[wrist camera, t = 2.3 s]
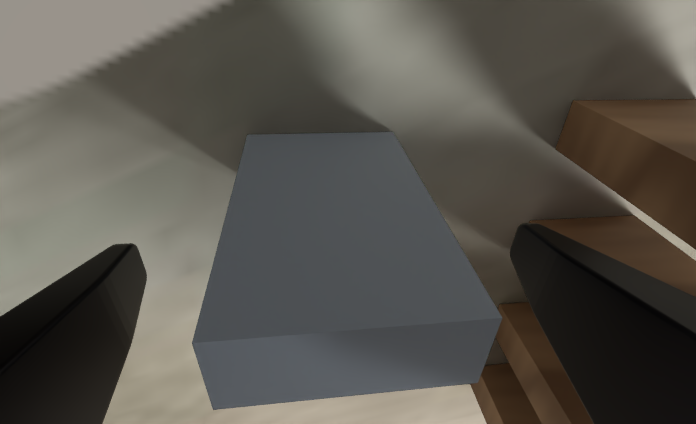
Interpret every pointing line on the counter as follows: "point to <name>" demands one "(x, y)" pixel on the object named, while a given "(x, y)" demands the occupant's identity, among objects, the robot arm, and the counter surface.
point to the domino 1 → (337, 278)
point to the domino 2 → (503, 397)
